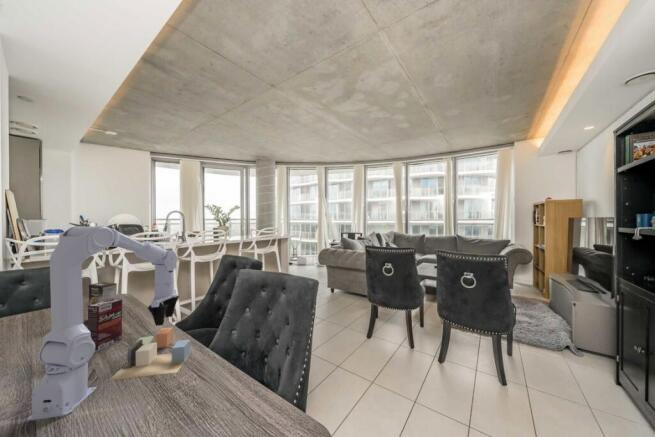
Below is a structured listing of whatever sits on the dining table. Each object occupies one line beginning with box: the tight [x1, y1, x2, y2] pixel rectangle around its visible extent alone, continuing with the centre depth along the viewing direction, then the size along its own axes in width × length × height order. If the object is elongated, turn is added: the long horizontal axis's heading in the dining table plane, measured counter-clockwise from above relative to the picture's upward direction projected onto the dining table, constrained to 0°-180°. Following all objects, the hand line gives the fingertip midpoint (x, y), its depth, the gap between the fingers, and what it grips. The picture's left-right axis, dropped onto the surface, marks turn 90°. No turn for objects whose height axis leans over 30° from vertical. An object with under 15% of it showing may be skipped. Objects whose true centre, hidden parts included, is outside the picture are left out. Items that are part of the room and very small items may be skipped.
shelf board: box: [108, 350, 192, 381], centre depth 76 cm, size 12×18×1 cm
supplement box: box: [87, 298, 123, 354], centre depth 89 cm, size 9×5×16 cm, turn 168°
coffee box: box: [88, 281, 118, 306], centre depth 116 cm, size 9×6×16 cm
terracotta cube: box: [155, 326, 174, 349], centre depth 89 cm, size 5×4×6 cm
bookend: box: [121, 339, 142, 369], centre depth 78 cm, size 6×2×6 cm, turn 11°
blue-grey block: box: [171, 339, 191, 362], centre depth 80 cm, size 5×4×4 cm
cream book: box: [136, 342, 158, 366], centre depth 78 cm, size 5×4×4 cm
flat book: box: [136, 335, 155, 346], centre depth 91 cm, size 6×4×2 cm
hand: (164, 320), depth 89 cm, fingers open, 7 cm apart
